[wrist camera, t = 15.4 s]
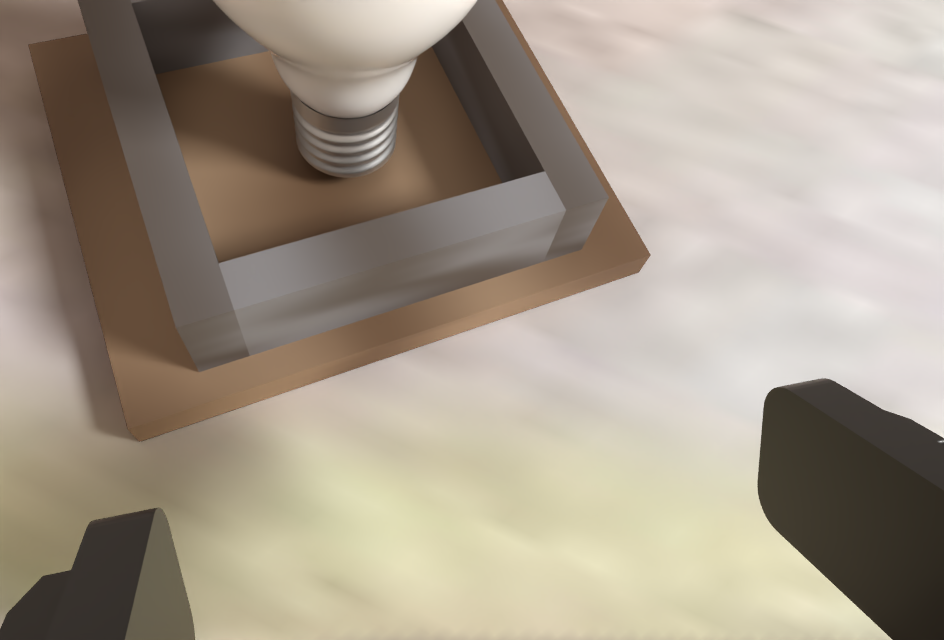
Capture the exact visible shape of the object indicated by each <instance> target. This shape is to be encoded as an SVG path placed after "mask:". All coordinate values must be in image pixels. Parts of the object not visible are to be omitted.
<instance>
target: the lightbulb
mask: <svg viewBox="0 0 944 640" xmlns="http://www.w3.org/2000/svg"><path fill="white" fill-rule="evenodd" d="M212 1H213V2H214V3H215V4H216V5H217V6H218V7H219V8H220V10H221V11H222V12H223V13H224V14H225V15H226V16H227V17H228V18H229V19H230V20H231V21H233V22H234V23H235V24H236V25H237V26H238V27H239V28H240V29H242V30H243V31H244V32H245V33H246V34H248V35H249V36H250V37H251V38H253V39H254V40H255V41H257V42H258V43H259V44H261V45H262V46H264V47H265V48H266V49H268V50H269V52H270V54H271V57H272V59H273V62H274V64H275V66H276V69H277V71H278V73H279V75H280V76H281V78H282V80H283V81H284V83H285V84H286V86H287V87H288V88H289V89H290V92H291V99H292V108H293V112H294V113H293V116H294V122H295V132H296V142H297V146H298V149H299V151H300V153H301V155H302V156H303V157H304V159H305V160H306V161H307V162H308V163H309V164H310V165H311V166H313V167H314V168H316V169H317V170H319V171H321V172H323V173H325V174H328V175H332V176H336V177H343V178H353V177H360V176H364V175H367V174H370V173H372V172H374V171H376V170H378V169H379V168H381V167H382V166H383V165H384V164H385V163H386V162H387V161H388V160H389V159H390V157H391V156H392V154H393V152H394V149H395V144H396V130H397V118H398V106H399V95H400V92H401V91H402V90H403V89H404V87H405V86H406V84H407V82H408V81H409V79H410V77H411V74H412V72H413V69H414V67H415V64H416V61H417V58H418V56H419V55H421V54H422V53H424V52H425V51H427V50H428V49H429V48H431V47H432V46H434V45H435V44H436V43H437V42H439V41H440V40H441V39H443V38H444V37H445V36H446V35H447V34H448V33H449V32H451V31H452V30H453V29H454V28H455V27H456V26H457V25H458V24H459V23H460V22H461V21H462V20H463V19H464V17H465V16H466V15H467V14H468V13H469V12H470V10H471V9H472V8H473V6H474V5H475V4H476V2H477V1H478V0H212Z"/></svg>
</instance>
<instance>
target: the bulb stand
mask: <svg viewBox="0 0 944 640" xmlns="http://www.w3.org/2000/svg"><path fill="white" fill-rule="evenodd" d="M78 2H79V6H80V9H81V13H82V16H83V19H84V23H85V26H86V29H87V33H88V34H83V35H77V36H72V37H66V38H61V39H56V40H50V41H45V42H40V43H34V44H29V49H30V53H31V57H32V61H33V65H34V69H35V72H36V76H37V80H38V84H39V88H40V92H41V96H42V99H43V103H44V107H45V111H46V115H47V119H48V123H49V127H50V130H51V134H52V138H53V142H54V146H55V150H56V154H57V158H58V161H59V165H60V169H61V173H62V177H63V181H64V185H65V188H66V192H67V196H68V200H69V204H70V208H71V212H72V216H73V219H74V223H75V227H76V231H77V235H78V239H79V243H80V246H81V250H82V254H83V258H84V262H85V266H86V270H87V274H88V277H89V281H90V285H91V289H92V293H93V297H94V301H95V304H96V308H97V312H98V316H99V320H100V324H101V328H102V332H103V335H104V339H105V343H106V347H107V351H108V355H109V359H110V362H111V366H112V370H113V374H114V378H115V382H116V386H117V390H118V393H119V397H120V401H121V405H122V409H123V413H124V417H125V421H126V424H127V428H128V430H129V431H130V432H131V433H132V434H133V435H134V436H135V438H136V439H137V440H138V441H139V442H140V441H143V440H146V439H149V438H152V437H155V436H158V435H161V434H164V433H167V432H170V431H173V430H176V429H179V428H182V427H185V426H188V425H191V424H193V423H196V422H199V421H202V420H205V419H208V418H211V417H214V416H217V415H220V414H223V413H226V412H229V411H232V410H235V409H238V408H241V407H244V406H246V405H249V404H252V403H255V402H258V401H261V400H264V399H267V398H270V397H273V396H276V395H279V394H282V393H285V392H288V391H291V390H294V389H297V388H299V387H302V386H305V385H308V384H311V383H314V382H317V381H320V380H323V379H326V378H329V377H332V376H335V375H338V374H341V373H344V372H347V371H350V370H353V369H355V368H358V367H361V366H364V365H367V364H370V363H373V362H376V361H379V360H382V359H385V358H388V357H391V356H394V355H397V354H400V353H403V352H406V351H408V350H411V349H414V348H417V347H420V346H423V345H426V344H429V343H432V342H435V341H438V340H441V339H444V338H447V337H450V336H453V335H456V334H459V333H462V332H464V331H467V330H470V329H473V328H476V327H479V326H482V325H485V324H488V323H491V322H494V321H497V320H500V319H503V318H506V317H509V316H512V315H515V314H517V313H520V312H523V311H526V310H529V309H532V308H535V307H538V306H541V305H544V304H547V303H550V302H553V301H556V300H559V299H562V298H565V297H568V296H570V295H573V294H576V293H579V292H582V291H585V290H588V289H591V288H594V287H597V286H600V285H603V284H606V283H609V282H612V281H615V280H618V279H621V278H624V277H626V276H629V275H632V274H635V273H638V272H639V271H640V270H641V268H642V267H643V265H644V264H645V262H646V261H647V259H648V258H649V257H650V253H649V251H648V250H647V248H646V246H645V245H644V243H643V241H642V239H641V238H640V236H639V234H638V232H637V231H636V229H635V227H634V226H633V224H632V222H631V220H630V219H629V217H628V215H627V214H626V212H625V210H624V208H623V207H622V205H621V203H620V202H619V200H618V198H617V196H616V195H615V193H614V191H613V190H612V188H611V186H610V184H609V183H608V181H607V179H606V178H605V176H604V174H603V172H602V171H601V169H600V167H599V165H598V164H597V162H596V160H595V159H594V157H593V155H592V153H591V152H590V150H589V148H588V147H587V145H586V143H585V141H584V140H583V138H582V136H581V135H580V133H579V131H578V129H577V128H576V126H575V124H574V123H573V121H572V119H571V117H570V116H569V114H568V112H567V110H566V109H565V107H564V105H563V104H562V102H561V100H560V98H559V97H558V95H557V93H556V92H555V90H554V88H553V86H552V85H551V83H550V81H549V80H548V78H547V76H546V74H545V73H544V71H543V69H542V68H541V66H540V64H539V62H538V61H537V59H536V57H535V56H534V54H533V52H532V50H531V49H530V47H529V45H528V43H527V42H526V40H525V38H524V37H523V35H522V33H521V31H520V30H519V28H518V26H517V25H516V23H515V21H514V19H513V18H512V16H511V14H510V13H509V11H508V9H507V7H506V6H505V4H504V2H503V1H502V0H478V1H477V2H476V4H475V5H474V6H473V8H472V9H471V10H470V12H469V13H468V14H467V15H466V16H465V17H464V19H463V20H462V21H461V22H460V23H459V24H458V25H457V26H456V27H455V28H454V29H453V30H452V31H451V32H449V33H448V34H447V35H446V36H445V37H444V38H443V39H441V40H440V41H439V42H437V43H436V44H435V45H434V46H432V47H431V48H429V49H428V50H427V51H425V52H424V53H422V54H421V55H419V56H418V58H417V61H416V64H415V67H414V69H413V72H412V74H411V77H410V79H409V81H408V82H407V84H406V86H405V87H404V89H403V90H402V91H401V92H400V95H399V106H398V118H397V130H396V144H395V149H394V152H393V154H392V156H391V157H390V159H389V160H388V161H387V162H386V163H385V164H384V165H383V166H382V167H381V168H379V169H378V170H376V171H374V172H372V173H370V174H367V175H364V176H360V177H353V178H343V177H336V176H332V175H328V174H325V173H323V172H321V171H319V170H317V169H316V168H314V167H313V166H311V165H310V164H309V163H308V162H307V161H306V160H305V159H304V157H303V156H302V155H301V153H300V151H299V149H298V146H297V142H296V132H295V122H294V116H293V113H294V112H293V108H292V99H291V92H290V89H289V88H288V87H287V86H286V84H285V83H284V81H283V80H282V78H281V76H280V75H279V73H278V71H277V69H276V66H275V64H274V62H273V59H272V57H271V54H270V52H269V50H268V49H266V48H265V47H264V46H262V45H261V44H259V43H258V42H257V41H255V40H254V39H253V38H251V37H250V36H249V35H248V34H246V33H245V32H244V31H243V30H242V29H240V28H239V27H238V26H237V25H236V24H235V23H234V22H233V21H231V20H230V19H229V18H228V17H227V16H226V15H225V14H224V13H223V12H222V11H221V10H220V8H219V7H218V6H217V5H216V4H215V3H214V2H213V1H212V0H78Z"/></svg>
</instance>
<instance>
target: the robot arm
mask: <svg viewBox="0 0 944 640" xmlns="http://www.w3.org/2000/svg"><path fill="white" fill-rule="evenodd" d="M758 495H759V499H760V503H761V506H762V509H763V511H764V513H765V515H766V517H767V519H768V520H769V522H770V523H771V525H772V526H773V527H774V528H775V529H776V530H777V531H778V532H779V533H780V534H781V535H782V536H783V537H784V538H785V539H786V540H787V541H788V542H789V543H790V544H791V545H793V546H794V547H795V548H796V549H797V550H798V551H799V552H800V553H801V554H802V555H803V556H804V557H805V558H806V559H807V560H808V561H810V562H811V563H812V564H813V565H814V566H815V567H816V568H817V569H818V570H819V571H820V572H821V573H822V574H823V575H824V576H825V577H827V578H828V579H829V580H830V581H831V582H832V583H833V584H834V585H835V586H836V587H837V588H838V589H839V590H840V591H841V592H843V593H844V594H845V595H846V596H847V597H848V598H849V599H850V600H851V601H852V602H853V603H854V604H855V605H856V606H857V607H858V608H860V609H861V610H862V611H863V612H864V613H865V614H866V615H867V616H868V617H869V618H870V619H871V620H872V621H873V622H874V623H875V624H877V625H878V626H879V627H880V628H881V629H882V630H883V631H884V632H885V633H886V634H887V635H888V636H889V637H890V638H891V639H893V640H944V438H943V437H941V436H939V435H937V434H936V433H934V432H932V431H930V430H929V429H927V428H925V427H923V426H922V425H920V424H918V423H916V422H915V421H913V420H911V419H909V418H906V417H903V416H900V415H897V414H894V413H891V412H888V411H885V410H883V409H881V408H879V407H877V406H876V405H874V404H872V403H871V402H869V401H867V400H865V399H864V398H862V397H860V396H859V395H857V394H855V393H853V392H852V391H850V390H848V389H847V388H845V387H843V386H841V385H840V384H838V383H836V382H834V381H832V380H830V379H826V378H825V379H817V380H812V381H807V382H802V383H796V384H791V385H786V386H781V387H777V388H774V389H772V390H771V391H770V392H769V393H768V395H767V397H766V399H765V402H764V410H763V422H762V435H761V447H760V459H759V472H758ZM0 640H195V633H194V625H193V619H192V613H191V609H190V605H189V601H188V597H187V593H186V590H185V586H184V582H183V578H182V574H181V570H180V566H179V563H178V559H177V555H176V551H175V547H174V543H173V539H172V535H171V532H170V528H169V524H168V521H167V518H166V515H165V513H164V511H163V510H162V509H161V508H154V509H149V510H144V511H139V512H134V513H129V514H124V515H119V516H113V517H108V518H103V519H98V520H93V521H91V522H90V523H89V525H88V527H87V529H86V531H85V534H84V537H83V539H82V542H81V545H80V548H79V550H78V553H77V556H76V558H75V561H74V564H73V567H72V569H71V570H70V571H65V572H60V573H55V574H50V575H46V576H43V577H42V578H41V579H40V580H39V581H38V582H37V583H36V584H35V585H34V586H33V587H32V588H31V589H30V590H29V591H28V592H27V593H26V594H25V595H24V596H23V597H22V598H21V600H20V601H19V602H18V603H17V604H16V605H15V606H14V607H13V608H12V609H11V610H10V611H9V612H8V613H7V615H6V617H5V620H4V622H3V624H2V626H1V628H0Z"/></svg>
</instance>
